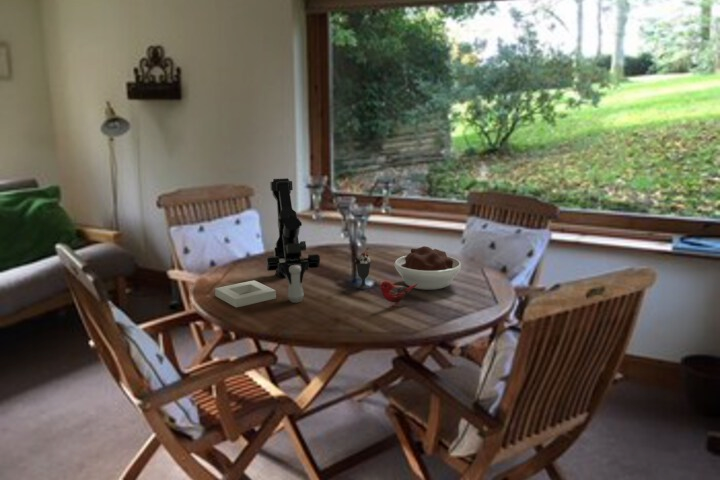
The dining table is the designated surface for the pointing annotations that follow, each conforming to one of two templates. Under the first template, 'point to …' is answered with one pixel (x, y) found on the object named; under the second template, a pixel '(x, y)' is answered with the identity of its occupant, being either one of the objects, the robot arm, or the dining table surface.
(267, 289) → the grey block
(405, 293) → the decorative bird figurine
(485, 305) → the dining table surface
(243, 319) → the dining table surface
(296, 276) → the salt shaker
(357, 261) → the sundae
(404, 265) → the bowl of chocolate pudding
